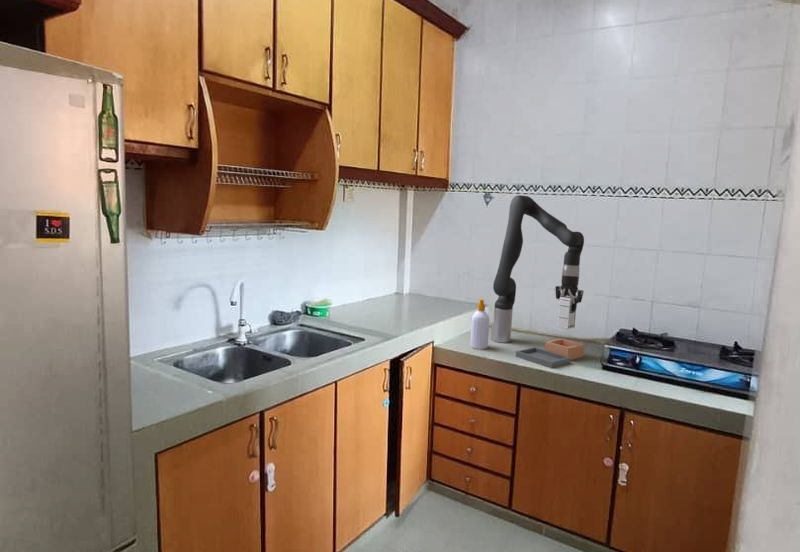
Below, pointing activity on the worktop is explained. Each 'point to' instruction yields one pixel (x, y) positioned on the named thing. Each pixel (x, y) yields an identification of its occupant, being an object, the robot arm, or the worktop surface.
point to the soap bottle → (480, 327)
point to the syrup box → (566, 313)
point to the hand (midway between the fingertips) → (567, 309)
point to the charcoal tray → (543, 357)
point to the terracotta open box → (565, 348)
